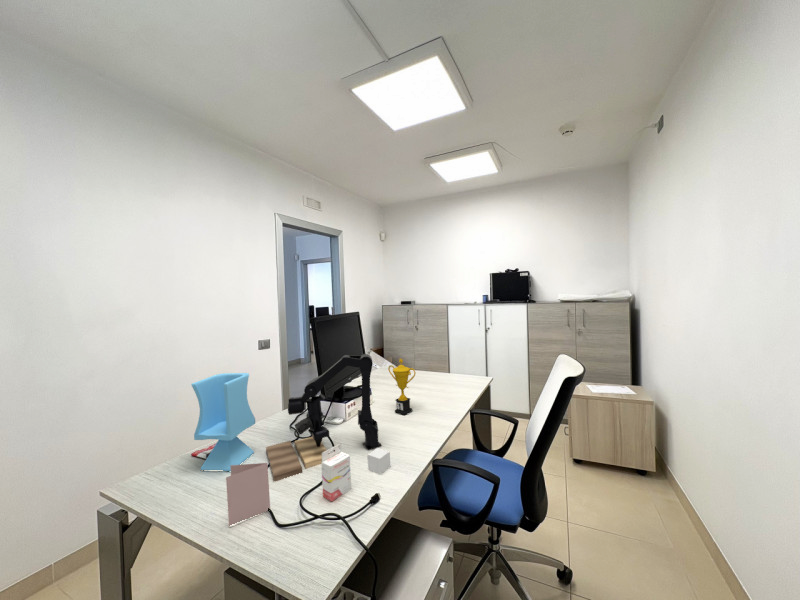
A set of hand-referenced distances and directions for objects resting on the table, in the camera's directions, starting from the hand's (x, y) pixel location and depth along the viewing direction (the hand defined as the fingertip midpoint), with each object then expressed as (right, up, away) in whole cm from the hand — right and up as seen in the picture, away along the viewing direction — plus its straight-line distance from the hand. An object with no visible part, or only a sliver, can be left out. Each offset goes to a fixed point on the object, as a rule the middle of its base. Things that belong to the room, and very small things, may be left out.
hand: (318, 446), depth 132 cm
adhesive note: (+27, -1, -16) cm, 31 cm away
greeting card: (-11, -4, -38) cm, 40 cm away
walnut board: (-12, -3, -7) cm, 15 cm away
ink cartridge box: (+14, -2, -29) cm, 32 cm away
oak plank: (-2, -2, -1) cm, 4 cm away
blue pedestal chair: (-36, -4, -5) cm, 36 cm away
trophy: (+37, +1, +38) cm, 53 cm away
